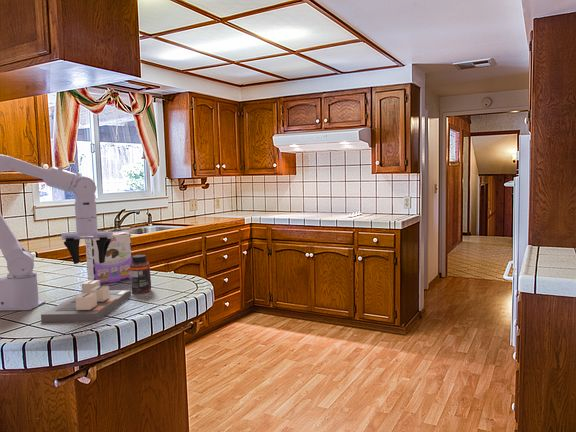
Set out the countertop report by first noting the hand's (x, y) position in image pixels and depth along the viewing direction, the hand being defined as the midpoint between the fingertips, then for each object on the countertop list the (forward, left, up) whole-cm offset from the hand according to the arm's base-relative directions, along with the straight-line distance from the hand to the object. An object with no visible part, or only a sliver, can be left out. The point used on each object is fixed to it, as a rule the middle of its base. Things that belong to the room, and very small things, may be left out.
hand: (89, 263), depth 136 cm
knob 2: (+8, -12, -8) cm, 16 cm away
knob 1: (+2, -4, -8) cm, 9 cm away
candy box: (-3, +21, -11) cm, 24 cm away
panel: (+5, -12, -10) cm, 16 cm away
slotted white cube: (+8, -19, -8) cm, 22 cm away
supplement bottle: (+13, +6, -11) cm, 18 cm away
